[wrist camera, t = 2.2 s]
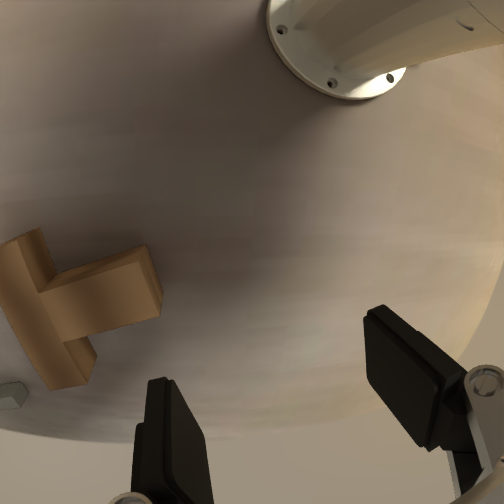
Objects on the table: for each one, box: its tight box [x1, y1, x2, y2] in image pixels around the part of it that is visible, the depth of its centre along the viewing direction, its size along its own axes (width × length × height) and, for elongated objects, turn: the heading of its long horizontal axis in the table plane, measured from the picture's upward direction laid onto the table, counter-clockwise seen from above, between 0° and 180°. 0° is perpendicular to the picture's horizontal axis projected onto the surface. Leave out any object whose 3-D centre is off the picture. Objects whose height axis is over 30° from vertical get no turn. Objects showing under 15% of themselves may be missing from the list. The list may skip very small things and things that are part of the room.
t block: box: [0, 227, 163, 391], centre depth 21 cm, size 12×12×4 cm
